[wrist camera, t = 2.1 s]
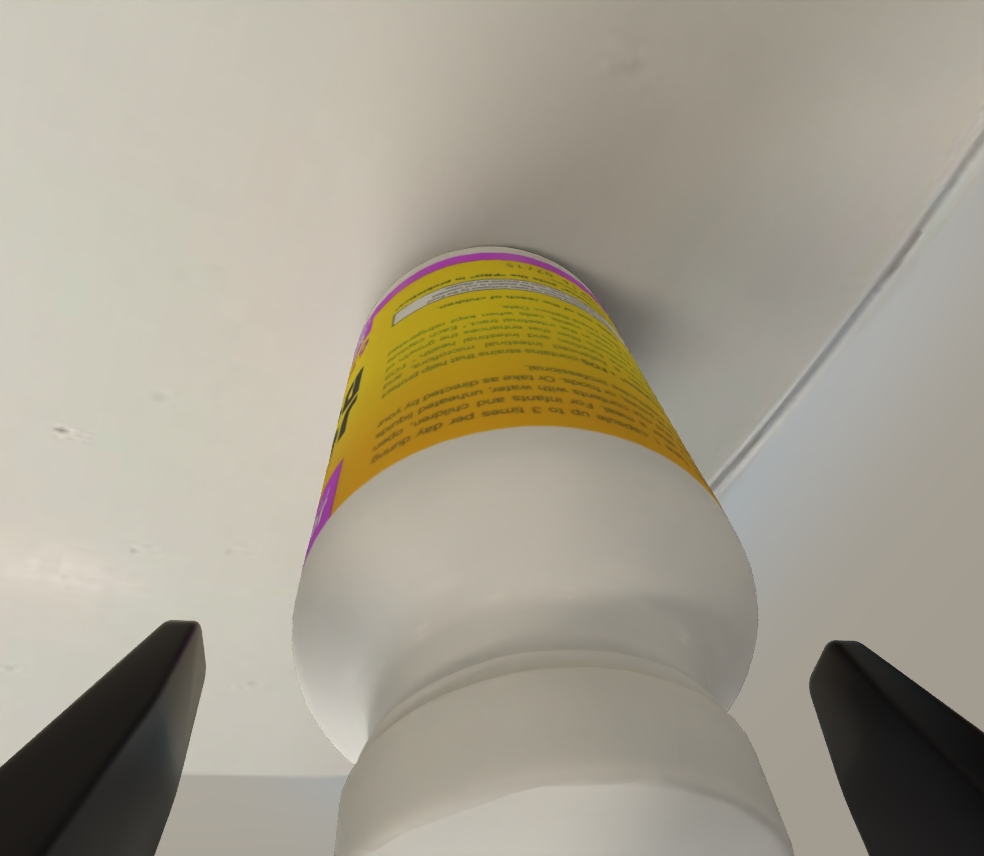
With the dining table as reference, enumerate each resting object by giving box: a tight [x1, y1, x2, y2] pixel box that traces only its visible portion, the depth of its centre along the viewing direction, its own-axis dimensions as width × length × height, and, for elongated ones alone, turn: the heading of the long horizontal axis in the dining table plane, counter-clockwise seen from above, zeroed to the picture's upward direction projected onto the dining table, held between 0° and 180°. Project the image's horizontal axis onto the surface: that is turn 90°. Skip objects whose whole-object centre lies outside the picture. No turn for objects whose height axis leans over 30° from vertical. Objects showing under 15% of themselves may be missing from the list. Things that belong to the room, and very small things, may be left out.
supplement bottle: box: [292, 246, 794, 856], centre depth 12 cm, size 7×7×13 cm
